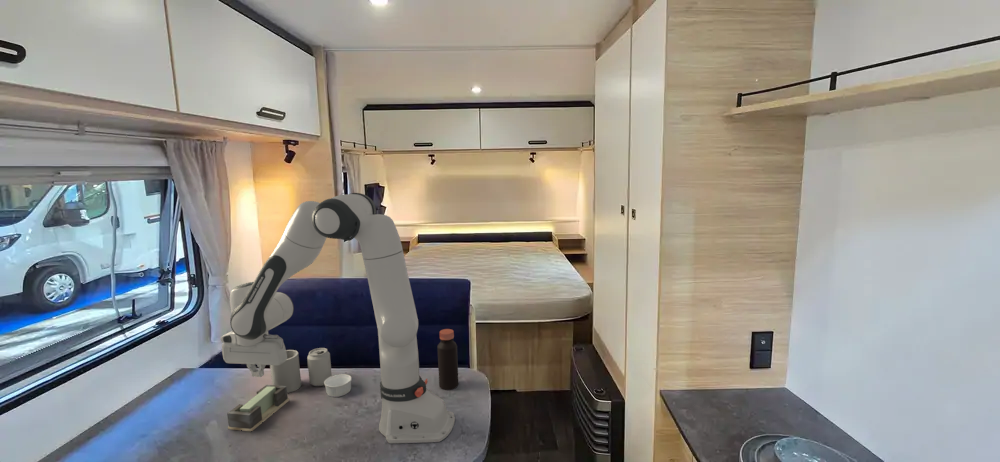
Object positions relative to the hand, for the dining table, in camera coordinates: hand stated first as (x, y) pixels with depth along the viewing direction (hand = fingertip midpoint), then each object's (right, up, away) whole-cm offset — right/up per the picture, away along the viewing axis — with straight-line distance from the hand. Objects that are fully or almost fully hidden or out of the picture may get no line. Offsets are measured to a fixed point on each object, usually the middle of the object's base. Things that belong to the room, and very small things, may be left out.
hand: (258, 375), depth 135 cm
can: (+11, -10, +21) cm, 26 cm away
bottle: (+58, -9, +17) cm, 61 cm away
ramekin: (+20, -11, +15) cm, 27 cm away
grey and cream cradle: (0, -13, +2) cm, 13 cm away
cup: (0, -10, +18) cm, 21 cm away
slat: (0, -12, +2) cm, 12 cm away
